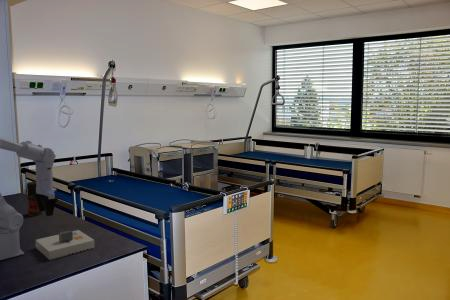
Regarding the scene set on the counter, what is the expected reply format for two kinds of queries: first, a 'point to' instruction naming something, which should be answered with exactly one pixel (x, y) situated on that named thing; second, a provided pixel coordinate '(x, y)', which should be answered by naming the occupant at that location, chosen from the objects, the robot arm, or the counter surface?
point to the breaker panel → (64, 245)
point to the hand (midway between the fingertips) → (46, 213)
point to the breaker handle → (65, 236)
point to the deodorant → (32, 200)
